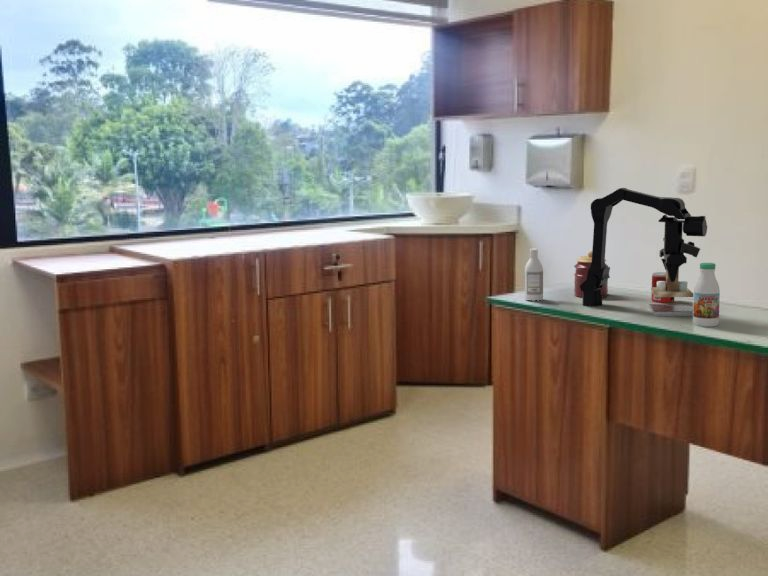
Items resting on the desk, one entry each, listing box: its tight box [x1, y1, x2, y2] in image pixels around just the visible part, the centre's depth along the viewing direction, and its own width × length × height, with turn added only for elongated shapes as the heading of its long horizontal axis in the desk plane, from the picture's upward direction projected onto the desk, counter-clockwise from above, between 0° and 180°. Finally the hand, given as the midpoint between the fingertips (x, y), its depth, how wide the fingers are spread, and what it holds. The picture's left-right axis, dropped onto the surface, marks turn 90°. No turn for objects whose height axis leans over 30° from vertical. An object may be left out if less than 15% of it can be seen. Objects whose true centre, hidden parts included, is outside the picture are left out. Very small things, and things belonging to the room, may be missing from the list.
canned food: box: [651, 271, 675, 304], centre depth 284 cm, size 8×8×11 cm
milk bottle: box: [692, 262, 720, 328], centre depth 246 cm, size 8×8×20 cm
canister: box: [573, 250, 609, 298], centre depth 303 cm, size 13×13×18 cm
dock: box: [648, 303, 693, 317], centre depth 265 cm, size 13×13×2 cm
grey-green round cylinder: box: [678, 280, 688, 291], centre depth 263 cm, size 3×3×3 cm
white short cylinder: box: [657, 281, 667, 291], centre depth 265 cm, size 3×3×3 cm
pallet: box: [650, 267, 694, 298], centre depth 264 cm, size 12×12×10 cm
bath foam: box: [524, 248, 544, 302], centre depth 298 cm, size 7×7×20 cm
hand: (671, 280), depth 264 cm, fingers closed on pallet, 3 cm apart
